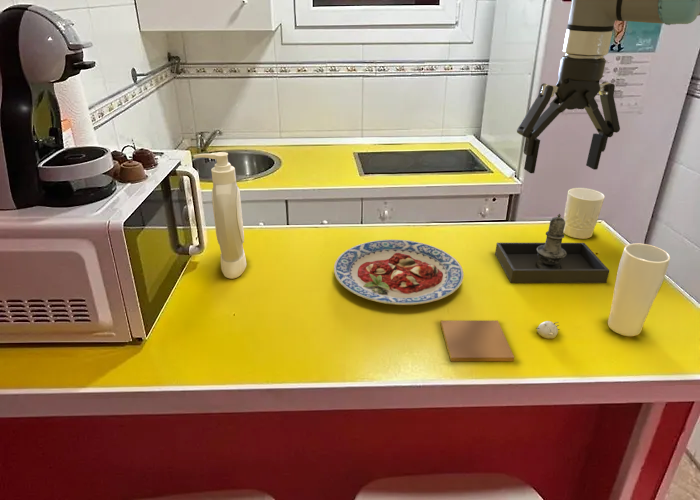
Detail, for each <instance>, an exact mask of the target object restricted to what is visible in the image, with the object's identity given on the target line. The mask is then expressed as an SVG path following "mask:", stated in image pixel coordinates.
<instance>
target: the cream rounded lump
mask: <svg viewBox="0 0 700 500" xmlns="http://www.w3.org/2000/svg"><path fill="white" fill-rule="evenodd" d="M559 326H560V324H559V321H555V322H553V321H550V320H545V321H543V322H541V323H540V324H539V325H538V327H536V328H535V330H537V333H538V335H539V336H541V337H542V338H544V339H554V338H556V337H557V335H558V333H559V331H560V330H561V328H558V327H559Z"/></svg>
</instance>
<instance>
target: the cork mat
mask: <svg viewBox="0 0 700 500" xmlns="http://www.w3.org/2000/svg"><path fill="white" fill-rule="evenodd" d="M440 327H441V331H442V335H443V338H444V341H445V345H446V349H447V352H448V356H449V360H450V362H514V361H515V355H514V353H513V351H512V349H511V347H510V345H509V341H508V340H507V338H506V335H505V334H504V331H503V329H502V327H501V325H500V322H499V321H498V320H440Z"/></svg>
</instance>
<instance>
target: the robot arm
mask: <svg viewBox="0 0 700 500" xmlns="http://www.w3.org/2000/svg"><path fill="white" fill-rule="evenodd" d="M698 16H699V17H700V0H571V3H570V10H569V16H568V21H567V25H566V32H565V37H564V43H563V48H562V52H563V54H565V55H563V56H562V57H561V58H560V63H559V69H558V73H557V76H558V80H557V83H556V85H551V84H549V83H543V82H542V83H541V84H540V86H539V91H538V93H537V97H536V98H535V99H534V101H533V102H532V104H531V106H530V108H529V109H528V111H527V113H526V114H525V116H524V117H523V119H522V120H521V122H520V124H519V126H518V127H517V129H516V133H517V134H519V135H520V136H522V137H524V138H525V140H524V146H523V154H524V155H525V161H524V165H523V166H524V168H523V169H524V170H525V171H526V172H528V173H529V174H535V172H536V166H537V161H538V155H539V149H540V146H541V145H540V143H541V139H539V138H538V137H539V136H540V135H541V134H542V133H543V132H544V131H545V130H546V129H547V128H548V127H549V125H551V124H552V122H553V121H555V119H556V118H557V117H558V116H559V115H560V114H561V113H563V112H565V110H571V111H572V110H575V109H578V110H585V112H586V114H587V115H588V118H589V119H590V121H591V122H592V124H593V126H594V128H595V130H596V133H593V134H592V137H591V140H590V141H591V142H590V146H589V151H588V155H587V159H586V164H585V167H586V166H587V167H588V168H590V169H592V170H595V171H597V170H598V169H599V164H600V160H601V156H602V153H604V152H605V150H606V147H607V143H608V139H609V138H612V137H613V136H614V133H618V132H620V130H621V126H620V122H619V121H620V120H619V116H618V112H617V106H616V102H615V97H614V95H615V89H616V88H615V87H616V86H615V84H614V83H612V82H608V81H602V82H601V83H600V81H601V79H602V78H603V75H604V73H605V72H604V71H605V68H606V62H607V60H606V58H605V56H607V55H608V54H609V51H610V46H611V41H612V36H613V31H614V25H615V23H616V22H633V23H647V24H662V25H663V24H664V25H666V26H670V25H689V24H691V23H693V22H694V21H695V20H697V17H698ZM598 94H599V99H600V104H601V108H602V109H601V110H602V112H601V111H600V109H599V104H598V102H597V101H596V99H595V97H596V96H597V95H598ZM554 96H555V97H554ZM553 97H554V98H553ZM552 98H553V100H551V99H552ZM550 100H551V102H550ZM548 104H549V106H548ZM547 106H548V107H547Z"/></svg>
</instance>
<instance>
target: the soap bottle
mask: <svg viewBox="0 0 700 500" xmlns="http://www.w3.org/2000/svg"><path fill="white" fill-rule="evenodd" d="M228 155H229V153H228V152H225V151H220V152H219V151H218V152H216V153H197V154H193V158H194V159H197V158H198V159H199V158H206V159H212V160H216V163H214V167H211V169H210V170H211V180H212V188H211V203H212V204H211V205H212V211H213V218H214V219H213V220H214V228H215V235H216V240H217V243H218V245H219V249H220V269H221V273H222V274H223V276H224V277H225V278H227V279H231V280H233V279H237V278H239V277H240V276H242V274H243V273H244V272H245V271H246V268H247V265H248V264H247V258H246V254H245V249H244V243H245V232H244V231H245V229H244V223H243V221H244V220H243V212H242V199H241V191H240V188H239V186H238V183H237V174H236V167H234V166H233V165H232V164H231V163H230V162H229V159H228Z"/></svg>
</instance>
